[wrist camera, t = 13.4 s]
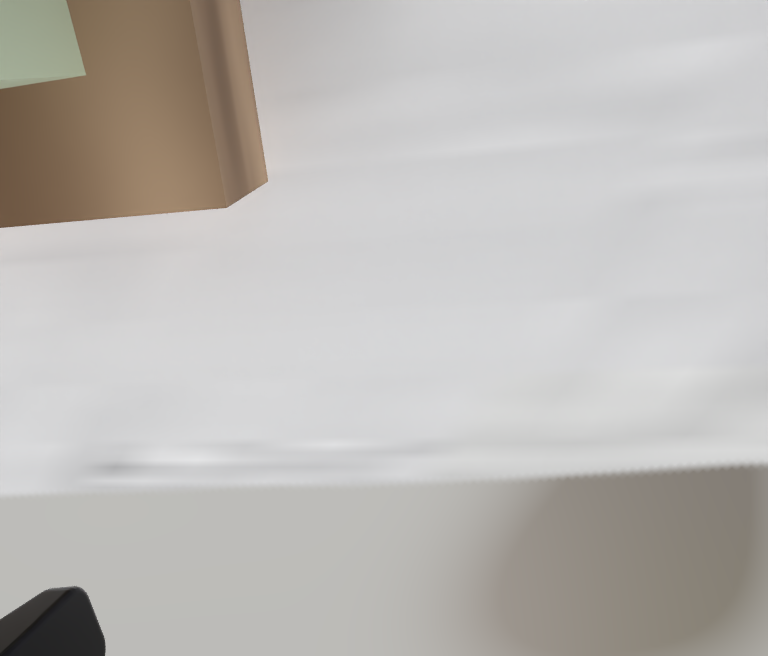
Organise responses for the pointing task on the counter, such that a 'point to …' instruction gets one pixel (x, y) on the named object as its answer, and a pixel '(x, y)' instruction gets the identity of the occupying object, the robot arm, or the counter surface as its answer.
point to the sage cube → (37, 43)
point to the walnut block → (135, 118)
